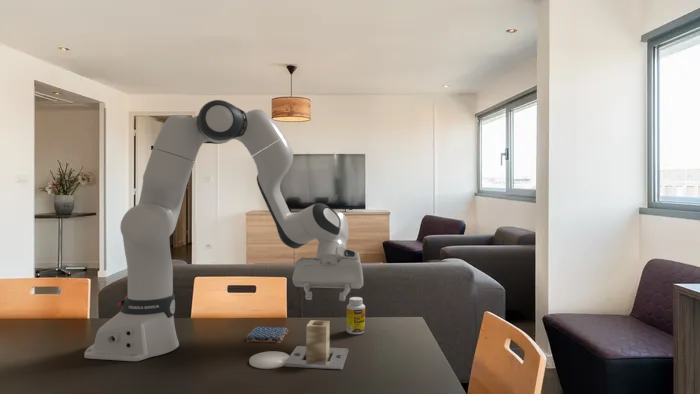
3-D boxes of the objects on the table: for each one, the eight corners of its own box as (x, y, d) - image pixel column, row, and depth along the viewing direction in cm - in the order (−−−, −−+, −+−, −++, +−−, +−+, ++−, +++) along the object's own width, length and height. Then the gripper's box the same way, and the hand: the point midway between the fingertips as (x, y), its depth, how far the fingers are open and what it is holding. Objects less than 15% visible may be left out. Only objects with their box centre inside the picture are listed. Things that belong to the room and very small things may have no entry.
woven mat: (244, 343, 124) (244, 336, 124) (255, 331, 135) (255, 325, 135) (280, 345, 123) (280, 337, 123) (289, 333, 134) (289, 326, 134)
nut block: (306, 362, 110) (306, 325, 109) (310, 354, 115) (310, 319, 114) (326, 363, 109) (326, 326, 109) (329, 355, 114) (329, 320, 114)
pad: (245, 369, 105) (245, 366, 105) (252, 353, 115) (252, 351, 115) (288, 368, 105) (288, 365, 105) (291, 353, 115) (291, 351, 115)
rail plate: (284, 366, 107) (284, 362, 107) (296, 349, 119) (296, 345, 119) (342, 369, 105) (342, 365, 105) (348, 351, 117) (348, 348, 117)
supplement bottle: (353, 336, 129) (353, 301, 129) (342, 331, 134) (343, 297, 134) (368, 333, 133) (368, 299, 132) (358, 328, 137) (358, 295, 137)
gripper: (294, 251, 130) (286, 291, 120) (364, 252, 127) (360, 294, 118) (298, 264, 134) (290, 304, 125) (365, 265, 132) (362, 306, 122)
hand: (325, 299), depth 121 cm, fingers open, 8 cm apart
